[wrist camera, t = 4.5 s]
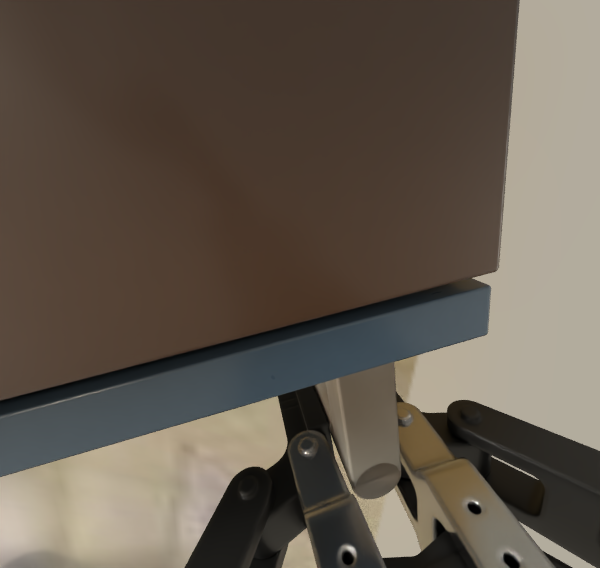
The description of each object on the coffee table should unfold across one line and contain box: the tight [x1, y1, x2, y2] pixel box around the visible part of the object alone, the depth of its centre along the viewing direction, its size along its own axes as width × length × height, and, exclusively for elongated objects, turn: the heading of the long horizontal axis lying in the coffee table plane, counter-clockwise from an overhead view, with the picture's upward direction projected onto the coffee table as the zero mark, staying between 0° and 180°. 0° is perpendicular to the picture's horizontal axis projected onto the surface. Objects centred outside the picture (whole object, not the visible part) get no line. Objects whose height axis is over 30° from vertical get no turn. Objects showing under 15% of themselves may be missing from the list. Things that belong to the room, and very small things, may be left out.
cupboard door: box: [0, 278, 491, 499], centre depth 11 cm, size 6×16×14 cm, turn 100°
